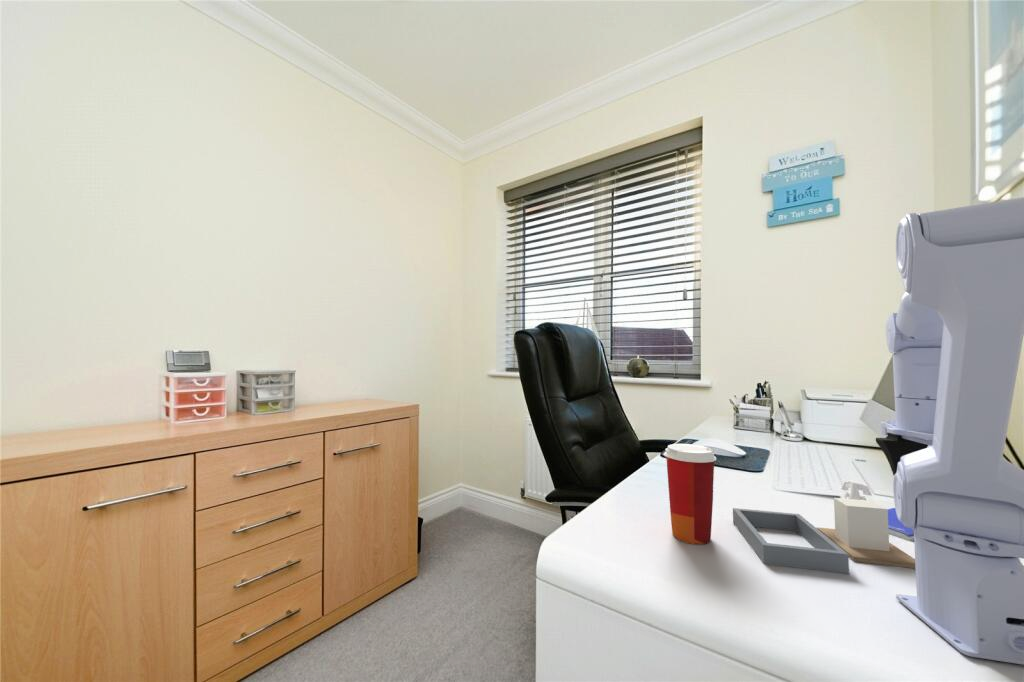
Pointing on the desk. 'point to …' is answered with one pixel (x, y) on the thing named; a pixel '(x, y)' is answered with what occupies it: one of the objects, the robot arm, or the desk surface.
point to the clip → (855, 490)
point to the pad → (872, 553)
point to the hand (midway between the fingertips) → (927, 497)
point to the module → (861, 524)
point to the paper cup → (690, 491)
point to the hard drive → (898, 526)
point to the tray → (815, 558)
